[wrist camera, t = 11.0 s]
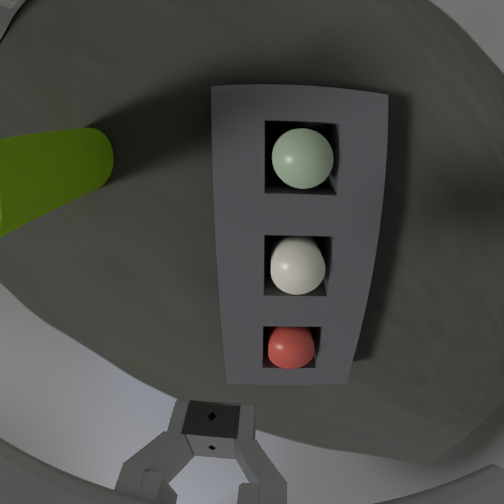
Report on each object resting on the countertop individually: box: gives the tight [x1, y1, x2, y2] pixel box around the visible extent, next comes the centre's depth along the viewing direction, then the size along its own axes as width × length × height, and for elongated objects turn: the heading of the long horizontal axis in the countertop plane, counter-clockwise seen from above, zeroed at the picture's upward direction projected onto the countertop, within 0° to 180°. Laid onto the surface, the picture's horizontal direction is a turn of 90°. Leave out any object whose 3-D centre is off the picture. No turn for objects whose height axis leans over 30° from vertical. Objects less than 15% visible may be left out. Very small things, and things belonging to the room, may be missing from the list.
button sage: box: [272, 128, 333, 189], centre depth 20 cm, size 4×4×3 cm
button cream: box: [271, 235, 325, 295], centre depth 23 cm, size 4×4×3 cm
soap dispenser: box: [0, 128, 114, 238], centre depth 13 cm, size 6×7×20 cm
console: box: [211, 84, 388, 385], centre depth 23 cm, size 26×12×3 cm, turn 1°
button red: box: [268, 326, 314, 369], centre depth 26 cm, size 4×4×3 cm
